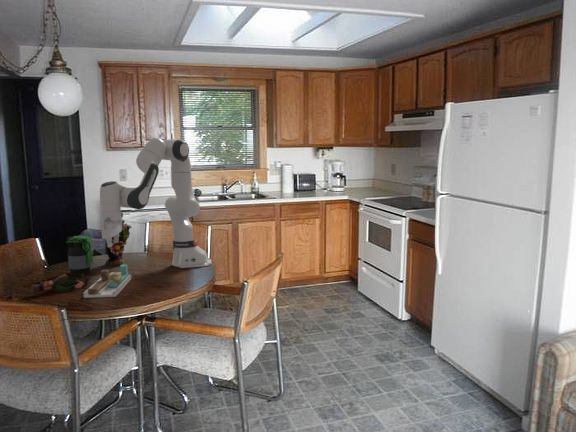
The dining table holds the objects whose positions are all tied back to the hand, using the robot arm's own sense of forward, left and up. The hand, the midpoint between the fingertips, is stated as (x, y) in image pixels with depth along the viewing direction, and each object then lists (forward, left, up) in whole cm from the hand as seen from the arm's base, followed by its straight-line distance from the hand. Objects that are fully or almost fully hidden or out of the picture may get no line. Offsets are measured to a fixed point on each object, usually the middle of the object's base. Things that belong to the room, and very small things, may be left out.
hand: (113, 244), depth 219 cm
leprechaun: (+24, +2, -22) cm, 33 cm away
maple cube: (0, 0, -19) cm, 19 cm away
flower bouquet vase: (+11, -43, -21) cm, 49 cm away
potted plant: (+25, -27, -21) cm, 43 cm away
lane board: (+3, 0, -21) cm, 21 cm away
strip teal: (0, -6, -20) cm, 21 cm away
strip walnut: (+7, +3, -20) cm, 21 cm away
